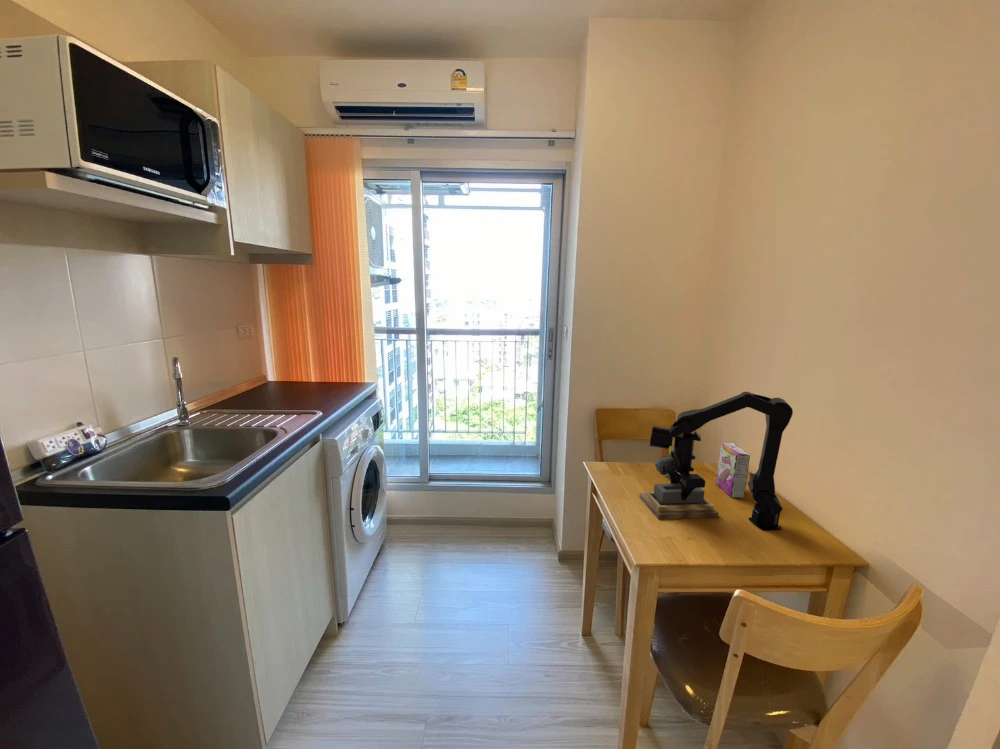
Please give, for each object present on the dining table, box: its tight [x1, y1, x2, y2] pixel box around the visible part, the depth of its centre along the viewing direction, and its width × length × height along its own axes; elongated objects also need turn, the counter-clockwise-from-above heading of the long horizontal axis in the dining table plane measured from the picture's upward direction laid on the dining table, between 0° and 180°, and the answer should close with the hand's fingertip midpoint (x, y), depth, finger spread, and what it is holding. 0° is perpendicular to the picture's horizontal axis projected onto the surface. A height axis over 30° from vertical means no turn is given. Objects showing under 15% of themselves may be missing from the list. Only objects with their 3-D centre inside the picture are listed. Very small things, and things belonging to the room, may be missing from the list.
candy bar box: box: [715, 442, 751, 499], centre depth 148 cm, size 11×5×16 cm, turn 179°
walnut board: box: [639, 491, 720, 520], centre depth 137 cm, size 20×14×3 cm
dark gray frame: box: [653, 483, 705, 504], centre depth 136 cm, size 14×6×4 cm, turn 95°
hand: (678, 495), depth 137 cm, fingers closed on dark gray frame, 6 cm apart
